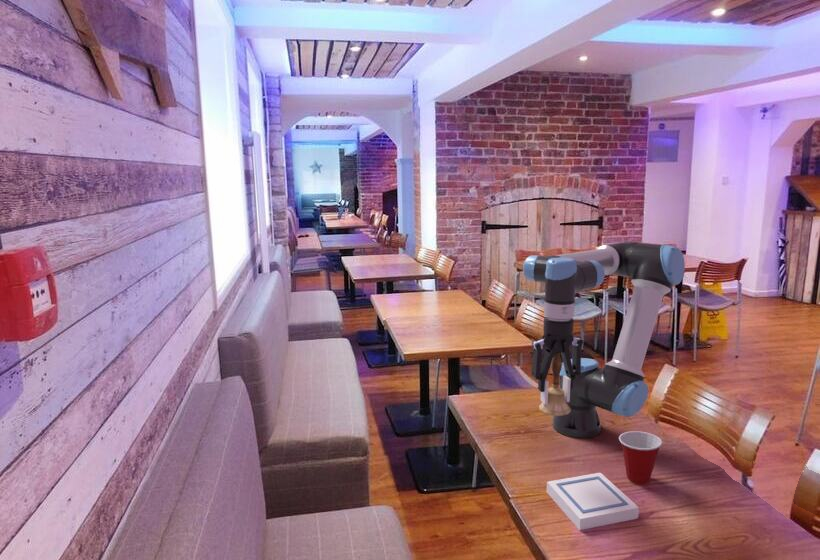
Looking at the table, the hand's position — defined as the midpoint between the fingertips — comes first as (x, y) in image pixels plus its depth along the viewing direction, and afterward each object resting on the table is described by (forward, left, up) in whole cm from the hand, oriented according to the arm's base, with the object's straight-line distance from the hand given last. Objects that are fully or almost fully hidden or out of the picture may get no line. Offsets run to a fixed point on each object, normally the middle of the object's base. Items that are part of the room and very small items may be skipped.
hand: (554, 401), depth 143 cm
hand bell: (0, 0, -3) cm, 3 cm away
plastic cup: (-23, +6, -23) cm, 33 cm away
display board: (-4, +13, -23) cm, 27 cm away
